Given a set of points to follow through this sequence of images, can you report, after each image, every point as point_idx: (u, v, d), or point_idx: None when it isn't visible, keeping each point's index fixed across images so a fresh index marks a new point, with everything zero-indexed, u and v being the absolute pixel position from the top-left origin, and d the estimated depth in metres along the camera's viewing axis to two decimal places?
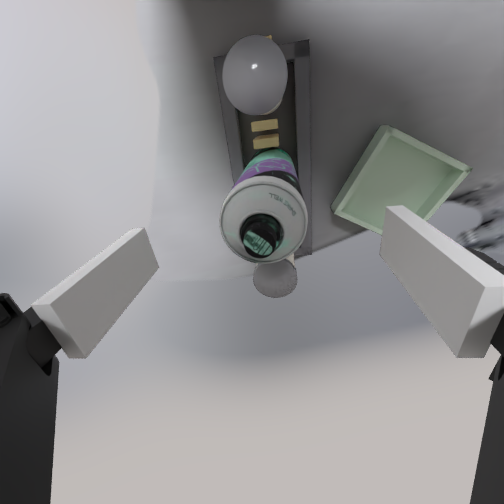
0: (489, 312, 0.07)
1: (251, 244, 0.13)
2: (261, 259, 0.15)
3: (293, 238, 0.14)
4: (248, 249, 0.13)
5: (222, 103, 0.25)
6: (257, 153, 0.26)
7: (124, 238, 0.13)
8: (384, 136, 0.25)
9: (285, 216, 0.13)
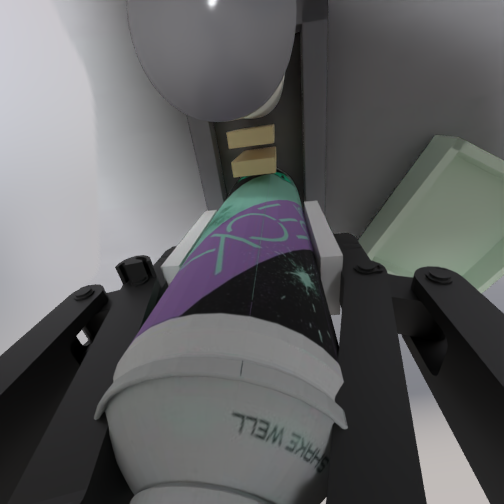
0: (330, 277, 0.09)
1: None
2: None
3: None
4: None
5: None
6: (242, 179, 0.16)
7: (204, 218, 0.14)
8: (447, 154, 0.15)
9: (293, 490, 0.04)
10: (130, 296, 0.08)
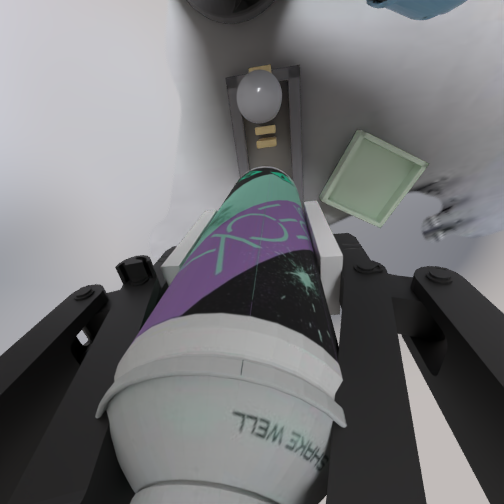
0: (330, 277, 0.09)
1: None
2: None
3: None
4: None
5: (231, 112, 0.32)
6: (242, 179, 0.16)
7: (204, 218, 0.14)
8: (358, 139, 0.31)
9: (293, 488, 0.04)
10: (130, 296, 0.08)
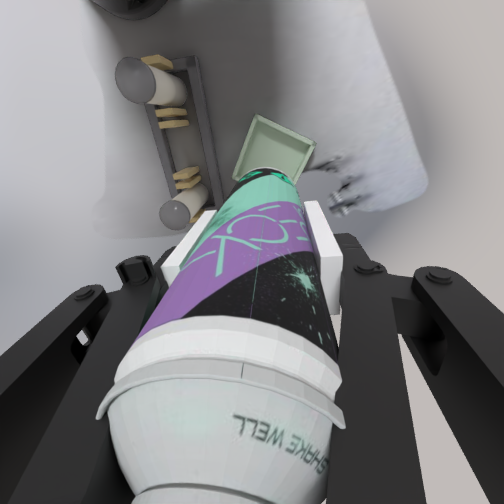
0: (330, 277, 0.09)
1: None
2: None
3: None
4: None
5: None
6: (242, 180, 0.16)
7: (204, 218, 0.14)
8: (252, 121, 0.36)
9: (293, 491, 0.04)
10: (130, 296, 0.08)
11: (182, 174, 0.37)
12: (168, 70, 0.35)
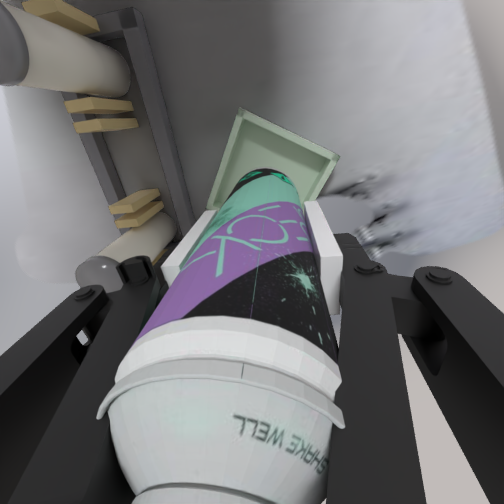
0: (330, 276, 0.09)
1: None
2: None
3: None
4: None
5: None
6: (242, 180, 0.17)
7: (204, 218, 0.14)
8: (236, 120, 0.22)
9: (293, 490, 0.04)
10: (130, 296, 0.08)
11: (123, 206, 0.23)
12: (92, 34, 0.21)
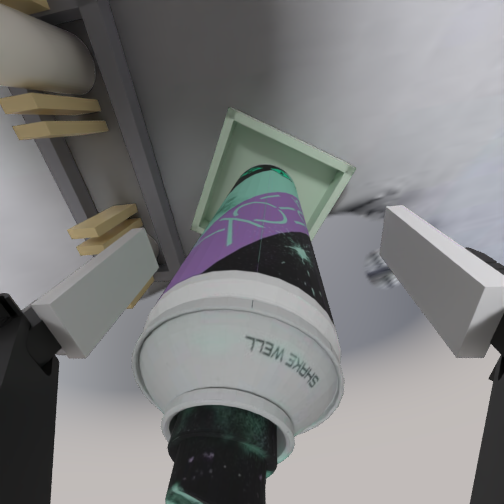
0: (489, 312, 0.07)
1: None
2: None
3: (309, 423, 0.06)
4: None
5: None
6: (244, 175, 0.18)
7: (124, 238, 0.13)
8: (225, 123, 0.17)
9: (291, 396, 0.05)
10: None
11: (85, 230, 0.19)
12: (40, 13, 0.16)
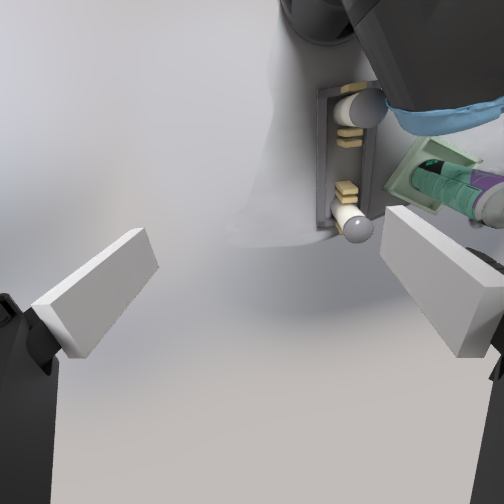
0: (489, 312, 0.07)
1: None
2: (501, 226, 0.28)
3: None
4: None
5: (318, 118, 0.39)
6: (431, 163, 0.38)
7: (124, 238, 0.13)
8: (425, 140, 0.38)
9: None
10: None
11: (353, 189, 0.39)
12: (351, 92, 0.37)
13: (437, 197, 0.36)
